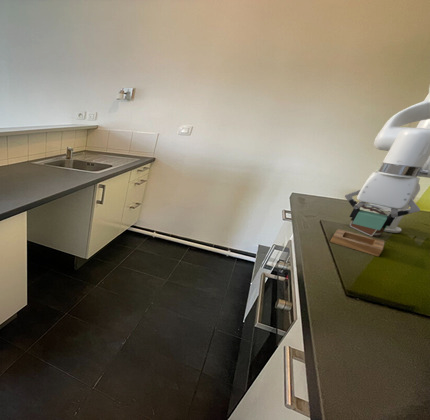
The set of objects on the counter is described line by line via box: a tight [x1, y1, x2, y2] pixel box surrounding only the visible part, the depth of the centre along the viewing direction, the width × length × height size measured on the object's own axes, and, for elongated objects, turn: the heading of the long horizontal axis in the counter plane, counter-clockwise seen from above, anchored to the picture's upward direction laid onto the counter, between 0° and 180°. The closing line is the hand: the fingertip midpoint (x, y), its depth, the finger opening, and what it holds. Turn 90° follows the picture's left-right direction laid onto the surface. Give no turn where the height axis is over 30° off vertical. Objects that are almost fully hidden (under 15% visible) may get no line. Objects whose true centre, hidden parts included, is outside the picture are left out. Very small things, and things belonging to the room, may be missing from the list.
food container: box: [349, 203, 397, 238], centre depth 94 cm, size 12×6×10 cm, turn 168°
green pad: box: [352, 210, 387, 230], centre depth 81 cm, size 6×6×4 cm
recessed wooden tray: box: [329, 228, 385, 257], centre depth 85 cm, size 11×11×2 cm
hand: (367, 222), depth 82 cm, fingers closed on green pad, 6 cm apart
